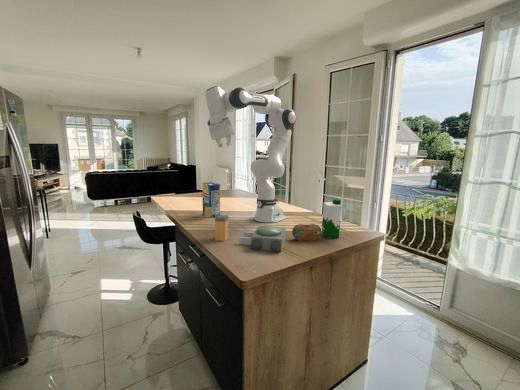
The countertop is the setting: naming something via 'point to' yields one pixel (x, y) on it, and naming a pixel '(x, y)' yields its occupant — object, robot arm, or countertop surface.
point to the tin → (306, 232)
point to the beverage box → (211, 199)
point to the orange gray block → (221, 227)
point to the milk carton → (331, 218)
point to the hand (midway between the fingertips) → (224, 146)
